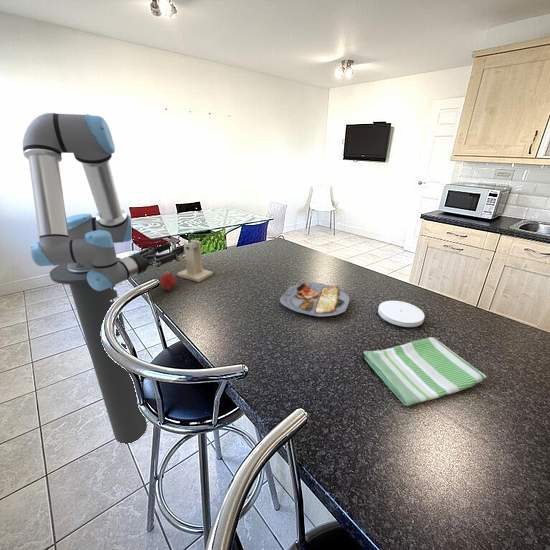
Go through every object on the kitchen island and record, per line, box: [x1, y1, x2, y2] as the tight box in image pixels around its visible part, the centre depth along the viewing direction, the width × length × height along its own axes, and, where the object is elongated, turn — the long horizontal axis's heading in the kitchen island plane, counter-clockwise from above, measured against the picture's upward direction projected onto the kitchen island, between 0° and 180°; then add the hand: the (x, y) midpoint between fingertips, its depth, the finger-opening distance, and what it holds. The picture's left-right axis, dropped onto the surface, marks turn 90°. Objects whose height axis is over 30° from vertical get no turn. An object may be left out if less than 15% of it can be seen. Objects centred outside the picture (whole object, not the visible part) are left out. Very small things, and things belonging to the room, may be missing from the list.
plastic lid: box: [377, 300, 425, 328], centre depth 96 cm, size 14×14×2 cm
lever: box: [175, 242, 198, 262], centre depth 122 cm, size 14×4×4 cm
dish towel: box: [362, 336, 487, 407], centre depth 73 cm, size 18×23×3 cm
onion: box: [159, 271, 177, 292], centre depth 109 cm, size 6×6×8 cm
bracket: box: [176, 239, 214, 283], centre depth 121 cm, size 12×9×15 cm
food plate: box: [279, 282, 351, 317], centre depth 104 cm, size 25×23×4 cm
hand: (176, 247), depth 127 cm, fingers open, 7 cm apart
